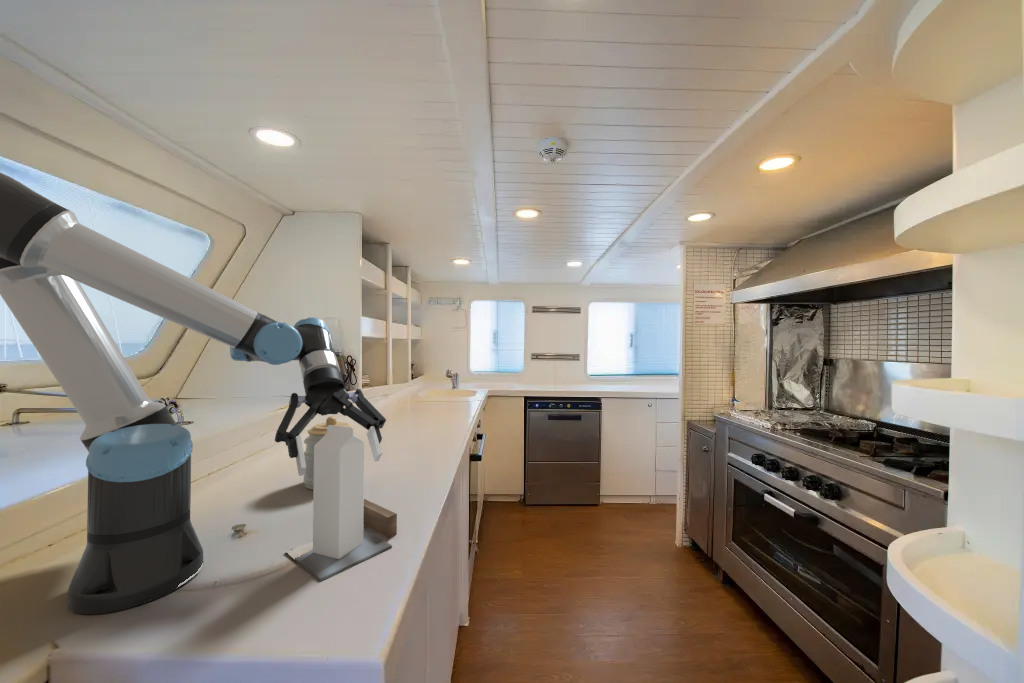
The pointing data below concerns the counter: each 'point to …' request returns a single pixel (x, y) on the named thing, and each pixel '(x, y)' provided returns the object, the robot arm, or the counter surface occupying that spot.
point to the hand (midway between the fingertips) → (342, 464)
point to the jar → (310, 442)
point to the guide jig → (371, 546)
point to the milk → (338, 492)
